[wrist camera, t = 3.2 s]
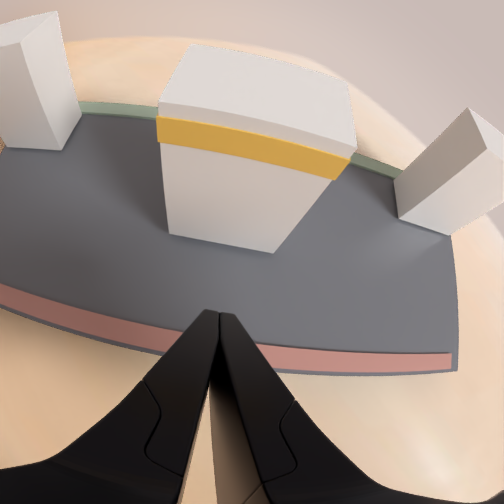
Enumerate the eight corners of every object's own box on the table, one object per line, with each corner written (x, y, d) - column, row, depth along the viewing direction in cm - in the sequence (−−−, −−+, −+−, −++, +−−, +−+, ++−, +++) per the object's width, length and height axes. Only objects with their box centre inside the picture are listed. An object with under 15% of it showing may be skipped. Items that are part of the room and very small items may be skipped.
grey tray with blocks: (437, 372, 16) (561, 354, 7) (-33, 292, 12) (-140, 230, 2) (426, 198, 21) (509, 130, 12) (41, 119, 17) (5, 15, 7)
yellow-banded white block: (274, 254, 14) (359, 150, 7) (167, 234, 13) (155, 102, 6) (279, 199, 15) (348, 81, 8) (182, 179, 14) (189, 42, 7)
